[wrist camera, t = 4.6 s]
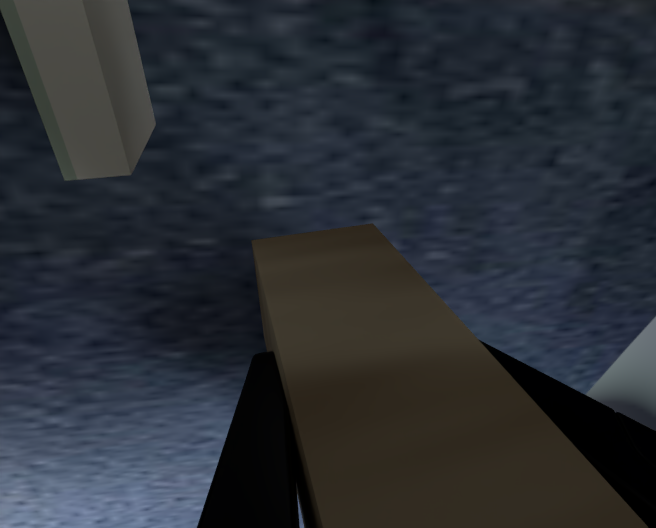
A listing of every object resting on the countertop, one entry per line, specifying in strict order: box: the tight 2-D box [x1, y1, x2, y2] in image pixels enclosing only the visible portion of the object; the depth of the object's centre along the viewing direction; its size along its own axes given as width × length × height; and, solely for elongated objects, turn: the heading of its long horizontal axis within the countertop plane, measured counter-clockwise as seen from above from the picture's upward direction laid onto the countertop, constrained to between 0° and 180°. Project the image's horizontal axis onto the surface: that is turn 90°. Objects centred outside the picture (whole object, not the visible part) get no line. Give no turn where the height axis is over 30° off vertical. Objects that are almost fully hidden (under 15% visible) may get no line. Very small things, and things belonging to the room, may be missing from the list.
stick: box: [252, 224, 649, 528], centre depth 6 cm, size 3×3×9 cm
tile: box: [0, 0, 156, 181], centre depth 11 cm, size 8×2×7 cm, turn 1°
